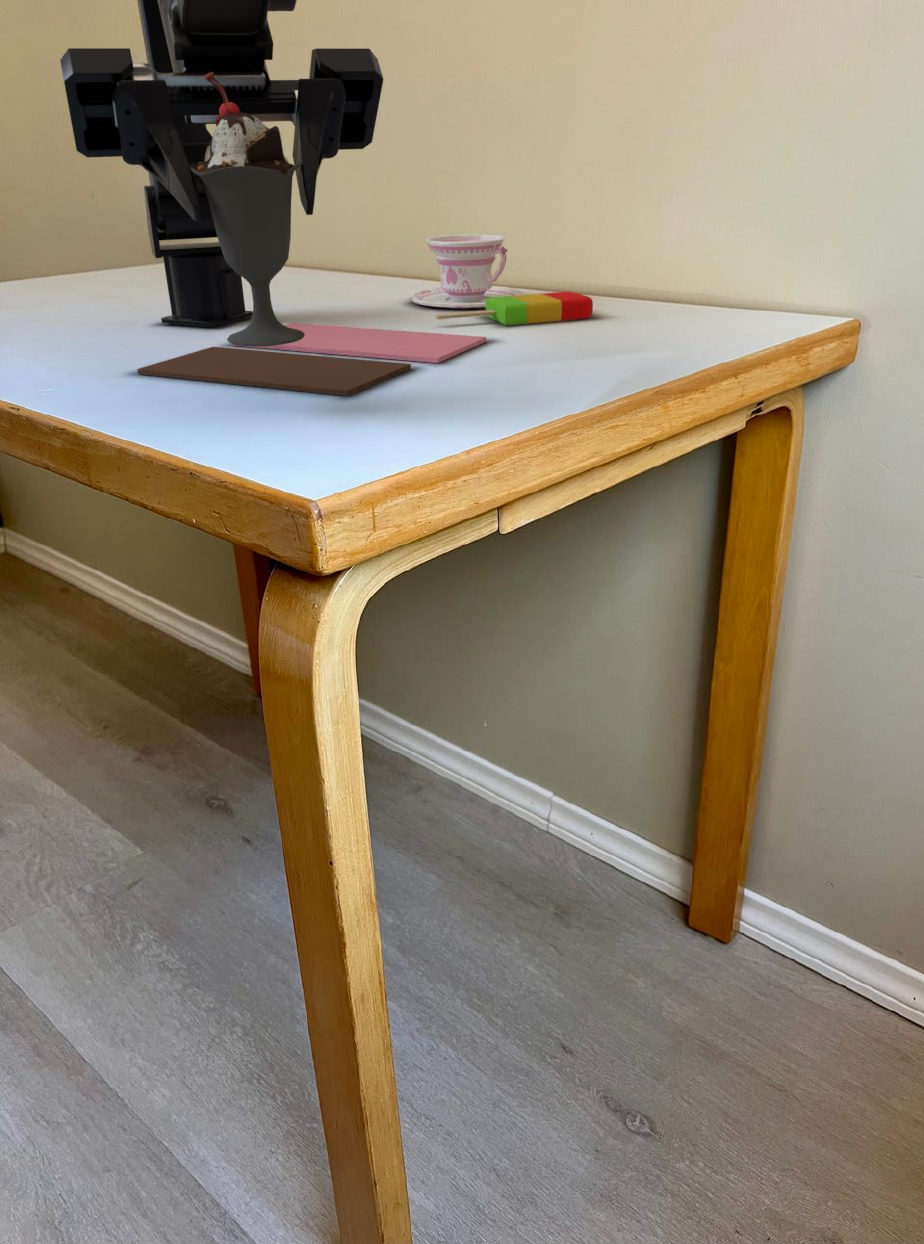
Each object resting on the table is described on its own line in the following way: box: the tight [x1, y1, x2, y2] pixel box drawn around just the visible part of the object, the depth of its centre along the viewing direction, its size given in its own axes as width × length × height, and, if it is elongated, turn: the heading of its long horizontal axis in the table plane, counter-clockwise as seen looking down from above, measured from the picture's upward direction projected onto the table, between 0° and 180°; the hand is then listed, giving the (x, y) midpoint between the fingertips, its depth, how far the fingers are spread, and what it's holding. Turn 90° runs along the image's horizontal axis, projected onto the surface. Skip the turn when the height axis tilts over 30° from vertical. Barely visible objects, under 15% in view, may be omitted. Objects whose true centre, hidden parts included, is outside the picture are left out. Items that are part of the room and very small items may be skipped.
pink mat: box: [231, 322, 487, 364], centre depth 83 cm, size 20×9×1 cm, turn 64°
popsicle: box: [435, 291, 594, 326], centre depth 91 cm, size 6×15×2 cm, turn 109°
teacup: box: [410, 233, 526, 309], centre depth 100 cm, size 12×12×6 cm
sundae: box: [189, 72, 305, 347], centre depth 59 cm, size 7×7×15 cm
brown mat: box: [136, 346, 412, 397], centre depth 74 cm, size 19×9×1 cm, turn 64°
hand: (254, 212), depth 58 cm, fingers closed on sundae, 6 cm apart
